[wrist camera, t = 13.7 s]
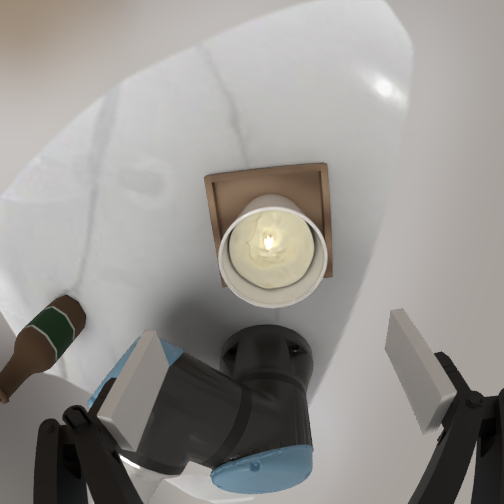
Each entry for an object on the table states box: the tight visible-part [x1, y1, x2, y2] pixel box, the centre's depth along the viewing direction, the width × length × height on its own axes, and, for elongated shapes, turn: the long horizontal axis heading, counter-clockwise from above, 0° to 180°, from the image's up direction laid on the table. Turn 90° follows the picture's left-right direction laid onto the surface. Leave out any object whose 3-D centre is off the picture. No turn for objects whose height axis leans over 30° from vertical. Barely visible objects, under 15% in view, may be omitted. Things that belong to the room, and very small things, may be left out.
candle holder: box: [218, 194, 328, 308], centre depth 31 cm, size 10×10×12 cm
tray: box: [204, 163, 332, 287], centre depth 37 cm, size 15×15×2 cm
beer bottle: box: [0, 295, 86, 404], centre depth 34 cm, size 8×8×24 cm
